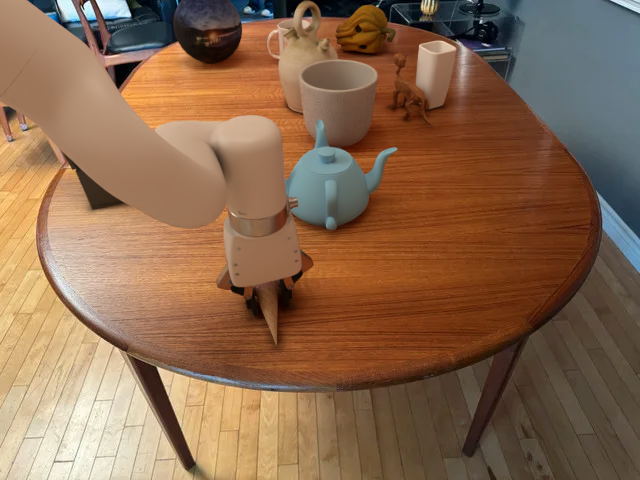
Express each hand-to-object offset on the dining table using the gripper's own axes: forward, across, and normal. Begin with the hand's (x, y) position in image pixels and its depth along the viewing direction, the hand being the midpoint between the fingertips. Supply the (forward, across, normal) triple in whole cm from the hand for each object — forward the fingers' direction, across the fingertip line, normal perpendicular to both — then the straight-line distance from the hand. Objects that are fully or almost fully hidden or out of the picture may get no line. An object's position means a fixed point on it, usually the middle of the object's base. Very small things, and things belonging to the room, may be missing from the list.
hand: (269, 304), depth 72 cm
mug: (0, -29, -94) cm, 98 cm away
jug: (0, -26, -64) cm, 69 cm away
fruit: (0, -54, -94) cm, 108 cm away
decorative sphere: (0, -6, -103) cm, 103 cm away
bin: (0, +22, -44) cm, 49 cm away
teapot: (0, -17, -22) cm, 28 cm away
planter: (0, -27, -45) cm, 52 cm away
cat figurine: (0, -48, -49) cm, 68 cm away
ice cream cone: (+1, 0, 0) cm, 1 cm away
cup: (0, -55, -53) cm, 76 cm away
